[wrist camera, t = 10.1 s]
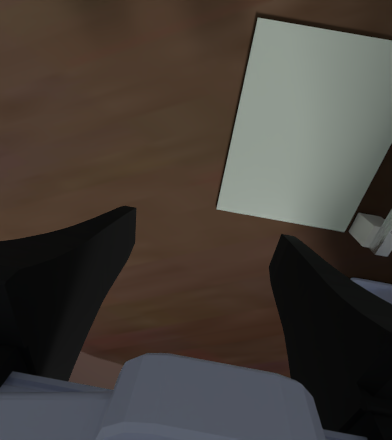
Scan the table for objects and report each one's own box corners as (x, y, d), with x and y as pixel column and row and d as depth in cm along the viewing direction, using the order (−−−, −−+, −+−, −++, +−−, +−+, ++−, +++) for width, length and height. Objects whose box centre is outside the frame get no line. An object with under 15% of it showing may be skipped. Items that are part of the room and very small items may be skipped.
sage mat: (343, 230, 22) (344, 232, 22) (216, 207, 22) (216, 209, 22) (437, 49, 16) (441, 49, 15) (257, 18, 16) (258, 17, 15)
